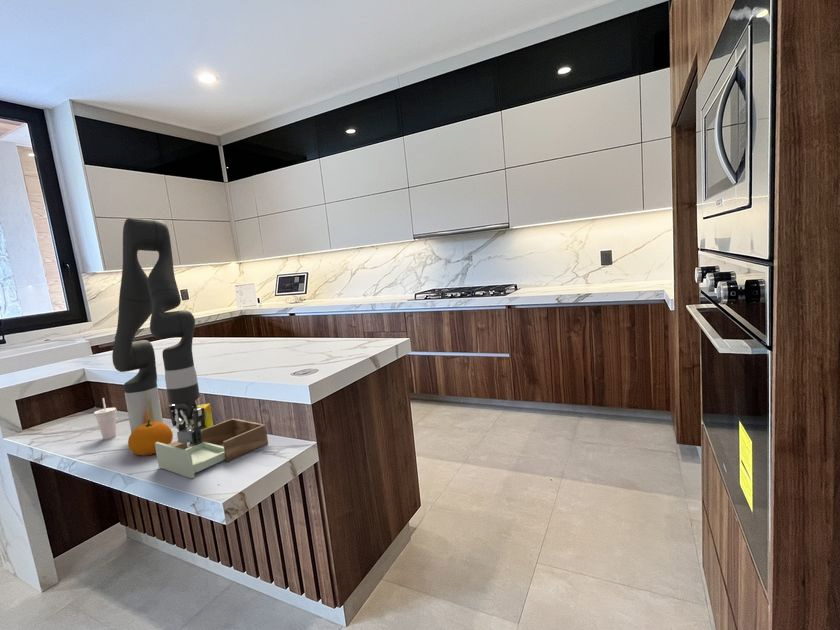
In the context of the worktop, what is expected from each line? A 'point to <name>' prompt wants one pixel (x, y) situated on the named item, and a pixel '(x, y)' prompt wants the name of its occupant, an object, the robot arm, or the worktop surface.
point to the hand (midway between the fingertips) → (191, 442)
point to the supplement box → (206, 416)
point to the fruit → (149, 437)
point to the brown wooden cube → (179, 445)
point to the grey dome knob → (185, 435)
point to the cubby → (236, 437)
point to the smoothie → (106, 421)
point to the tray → (188, 457)
